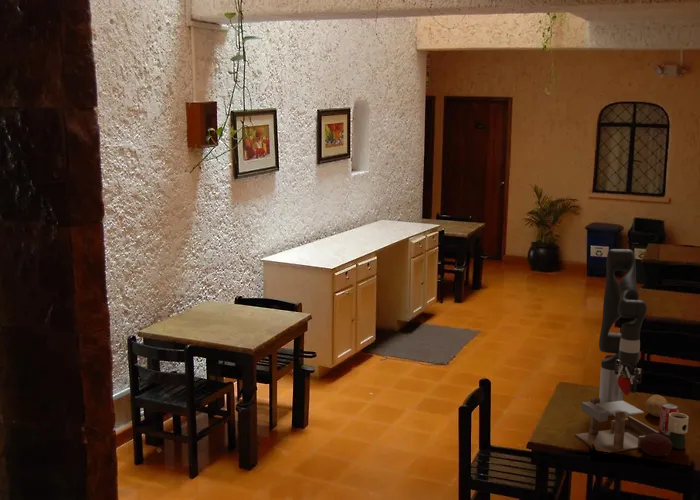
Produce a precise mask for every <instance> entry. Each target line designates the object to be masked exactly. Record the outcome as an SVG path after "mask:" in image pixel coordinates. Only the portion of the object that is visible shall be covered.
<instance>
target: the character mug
mask: <svg viewBox="0 0 700 500" xmlns="http://www.w3.org/2000/svg"><path fill="white" fill-rule="evenodd" d="M689 419H690V418H689V415H687V414H685V413H681V412H679V413H675V412H674V413H670V414H669V422H668V430H669V431H671V433H670V436H668V438H669V440H670V441H671V442H672V445H673V447H672V448H674V449H678V450H683V449H685V447H686V437H685V436H686V435H685V434H687V433H688V430H689Z"/></svg>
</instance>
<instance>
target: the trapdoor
mask: <svg viewBox="0 0 700 500" xmlns="http://www.w3.org/2000/svg"><path fill="white" fill-rule="evenodd" d="M581 411H582V412H583V413H585V414H586V415H587V416H589V417H590V416H591V417H593V418H594V419H596V420H598V421H599V423H600V422H608V417H610V416H613V417H615V415H616V412H624V413H625V417H627V416H631V415H632V416H634V415H639V414H645V412H644V411H643V410H641V409H640V408H637V407H636V406H634V405H632V404H630V403H628V402H627V401H624V400H622V401H615V402H606V403H598V404H593V403H591V401H583V402H581Z"/></svg>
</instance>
